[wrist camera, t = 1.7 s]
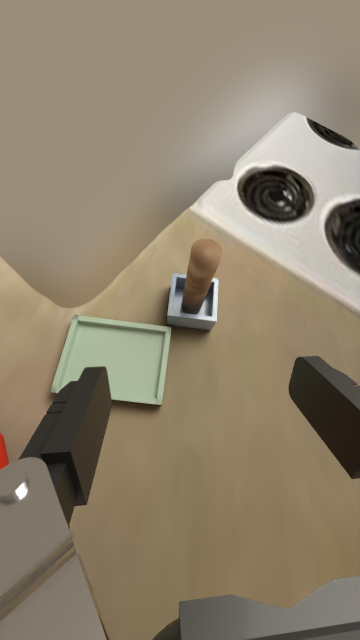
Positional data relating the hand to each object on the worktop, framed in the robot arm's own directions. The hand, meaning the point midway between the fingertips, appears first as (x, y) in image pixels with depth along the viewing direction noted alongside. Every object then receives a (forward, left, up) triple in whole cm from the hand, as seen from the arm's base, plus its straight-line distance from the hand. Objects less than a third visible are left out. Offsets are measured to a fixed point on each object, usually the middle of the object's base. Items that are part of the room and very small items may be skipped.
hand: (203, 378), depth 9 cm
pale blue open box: (+1, +16, -27) cm, 31 cm away
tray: (-10, +5, -27) cm, 29 cm away
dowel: (+1, +16, -26) cm, 30 cm away
